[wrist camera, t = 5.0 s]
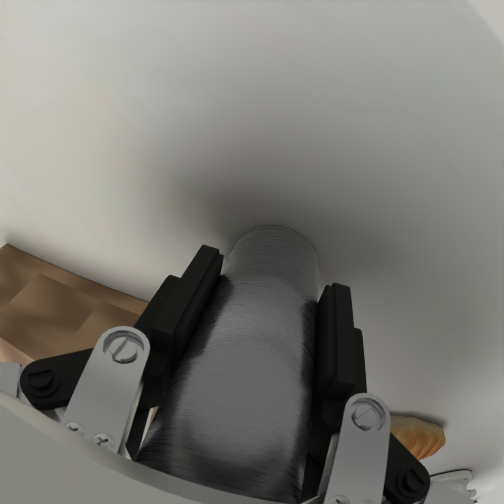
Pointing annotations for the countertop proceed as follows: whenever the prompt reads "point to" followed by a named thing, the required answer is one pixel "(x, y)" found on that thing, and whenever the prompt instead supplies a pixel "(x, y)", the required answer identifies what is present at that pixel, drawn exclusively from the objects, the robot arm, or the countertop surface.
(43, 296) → the socket block
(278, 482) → the pin
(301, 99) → the countertop surface
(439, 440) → the pastry
